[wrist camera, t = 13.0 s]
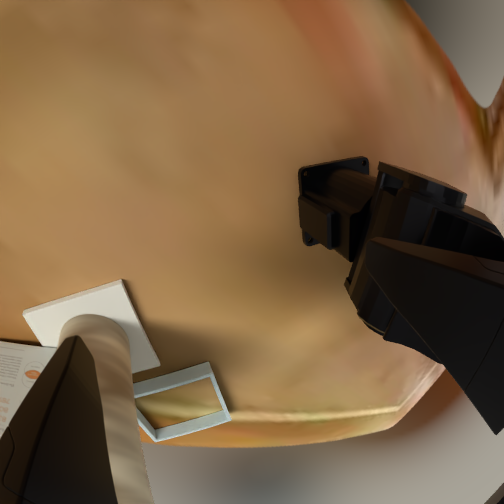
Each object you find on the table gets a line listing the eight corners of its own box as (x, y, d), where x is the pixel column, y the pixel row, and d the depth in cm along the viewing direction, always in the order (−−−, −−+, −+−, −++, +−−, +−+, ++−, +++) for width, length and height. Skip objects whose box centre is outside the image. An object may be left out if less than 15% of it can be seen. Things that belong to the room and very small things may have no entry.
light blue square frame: (208, 361, 27) (212, 372, 26) (227, 410, 32) (231, 420, 31) (117, 387, 25) (118, 399, 24) (152, 431, 29) (155, 442, 28)
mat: (121, 279, 21) (121, 283, 20) (159, 360, 25) (160, 365, 25) (24, 309, 18) (22, 314, 18) (74, 383, 23) (74, 387, 22)
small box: (3, 382, 20) (-19, 495, 9) (-18, 335, 17) (-60, 460, 6) (73, 393, 23) (68, 519, 12) (59, 346, 20) (38, 495, 9)
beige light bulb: (133, 319, 22) (161, 496, 10) (126, 372, 24) (151, 522, 12) (59, 308, 19) (35, 485, 7) (61, 363, 21) (57, 516, 9)
